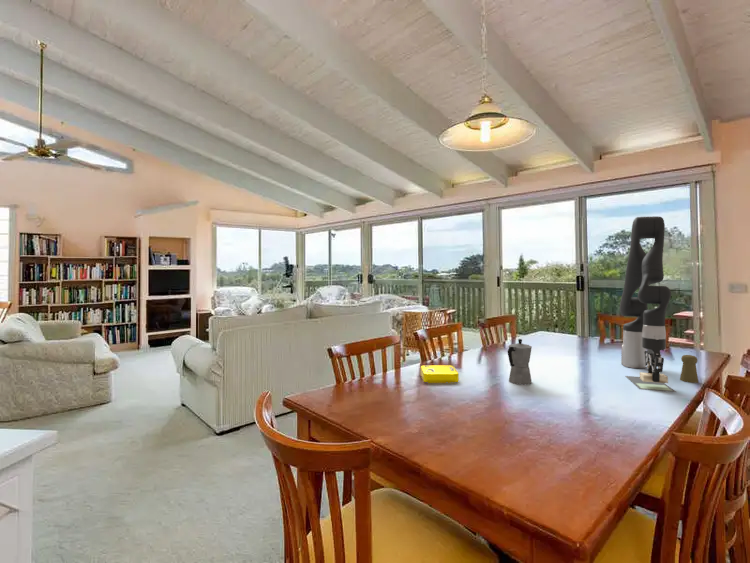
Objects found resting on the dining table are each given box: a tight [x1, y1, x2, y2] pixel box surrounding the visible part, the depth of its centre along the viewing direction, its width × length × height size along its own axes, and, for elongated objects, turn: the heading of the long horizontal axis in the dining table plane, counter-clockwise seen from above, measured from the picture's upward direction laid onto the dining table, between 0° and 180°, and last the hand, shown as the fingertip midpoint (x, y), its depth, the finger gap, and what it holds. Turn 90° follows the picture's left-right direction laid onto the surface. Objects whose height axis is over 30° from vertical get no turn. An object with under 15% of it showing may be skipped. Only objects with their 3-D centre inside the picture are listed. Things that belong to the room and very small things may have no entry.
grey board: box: [625, 375, 677, 393], centre depth 158 cm, size 20×12×1 cm, turn 161°
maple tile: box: [639, 371, 669, 384], centre depth 153 cm, size 8×4×2 cm, turn 71°
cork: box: [679, 354, 699, 384], centre depth 161 cm, size 6×6×11 cm
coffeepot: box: [507, 338, 533, 385], centre depth 163 cm, size 15×9×18 cm, turn 129°
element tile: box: [420, 364, 460, 384], centre depth 171 cm, size 15×15×5 cm
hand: (653, 379), depth 153 cm, fingers closed on maple tile, 4 cm apart
